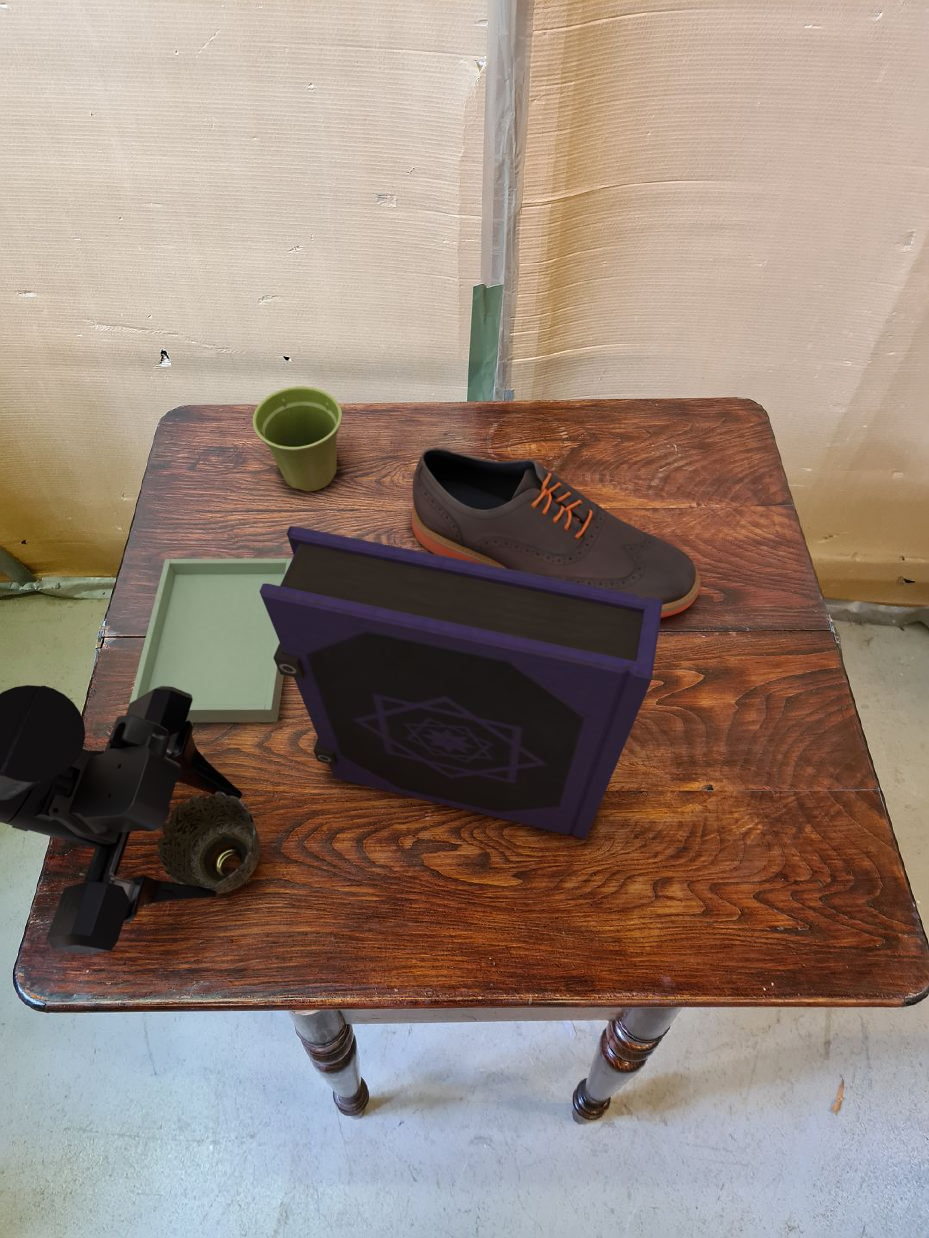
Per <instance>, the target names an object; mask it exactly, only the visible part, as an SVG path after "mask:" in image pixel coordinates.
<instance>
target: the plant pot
mask: <svg viewBox="0 0 929 1238" xmlns="http://www.w3.org/2000/svg"><path fill="white" fill-rule="evenodd" d="M342 420H343V412H342V408H341V406H340V404H339V402H338V401H337V399H336V398H335V397H334V396H333V395H331V394H330V393H328V392H326V391H324V390H323V389H320V388H317V387H314V386H304V385H302V386H291V387H285V388H283V389H282V388H281V389H279V390H276V391H275V392H272V393H271V394H269V395H268V396H266V397H265V398H263V400H261V402H259V404H258V405H257V407H256V409H255V410H254V413H253V416H252V426H253V430H254V432H255V434H256V435H257V437H258V438H259V439H260V440H261V441H262V442H263V443H264V444H265V445H266V446H267V447H268V448H269V450H270V452H271V454H272V456H273V458H274V461H275V463H276V464H277V467H278V468H279V471H280V473H281V475H282V477H283V479H284V481H285V483H286V484H287V485H288V486H289V487H290V488H292V489H297V490H301V491H305V492H314V491H319V490H321V489H323V488H326V487H327V486H328V485H330V484H331V483H332V481H333V479H334V478H335V475H337V470H338V469H337V464H338V462H337V461H338V459H337V436H338V432H339V429H340V427H341V425H342Z"/></svg>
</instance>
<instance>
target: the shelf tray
mask: <svg viewBox="0 0 929 1238" xmlns="http://www.w3.org/2000/svg"><path fill="white" fill-rule="evenodd" d="M292 559H293V557H288V558H285V557H284V558H278V557H277V558H276V557H275V558H274V557H273V558H262V557H261V558H165V559H164V562H163V566H162V570H161V575H160V578H159V583H158V586H157V590H156V593H155V599H154V602H153V607H152V610H151V614H150V618H149V622H148V626H147V631H146V634H145V639H144V642H143V647H142V651H141V654H140V659H139V663H138V667H137V671H136V676H135V679H134V684H133V686H132V691H131V695H130V699H129V703H128V705H129V704H130V703H131V702H133V701H135V700H136V699H138V698H140V697H141V696H143V695H145V694H146V693H148V692H150V691H152V690H153V689H155V688H158V687H160V686H170V687H174V688H177V689H179V690H182V691H184V692H186V693H189V694H191V695H192V698H193V700H192V704H191V707H190V710H189V713H188V716H187V720H186V721H188V720H189V721H191V722H192V723H278V721H279V714H280V706H281V699H282V691H283V686H284V685H283V684H284V677H285V675H281V674H280V672H279V670H278V667H277V665H276V663H275V660H274V658H273V657H274V654H275V652H276V650H277V648H278V645H279V643H280V642H279V639H278V637H277V634H276V632H275V629H274V627H273V624H272V622H271V619H270V617H269V614H268V612H267V609H266V607H265V604H264V602H263V599H262V597H261V595H260V592H259V591H260V589H261V587H262V585H263V584H267V583H268V584H272V585H277V586H280V585H281V583H282V580H283V578H284V576H285V574H286V572H287V570H288V567H289V565H290V563H291V561H292Z"/></svg>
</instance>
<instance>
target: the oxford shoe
mask: <svg viewBox="0 0 929 1238" xmlns="http://www.w3.org/2000/svg"><path fill="white" fill-rule="evenodd" d="M412 501H413V504H412V508H411V528H412V532H413V534H414V536H415V538H416V540H417V541H418V542H419V543H420V545H422V546H423V548H425V549H426V550H428V552H430V553H431V554H436V555H441V556H446V557H451V558H456V559H461V560H466V561H471V562H476V563H481V564H486V565H491V566H496V567H501V568H506V569H511V570H516V571H521V572H526V573H531V574H536V575H541V576H546V577H551V578H556V579H561V580H566V581H571V582H576V583H581V584H586V585H591V586H596V587H601V588H606V589H611V590H616V591H621V592H626V593H631V594H635V595H636V596H638V597H639V598H640V599H642V598H645V597H651V598H656V599H661V600H663V604H662V611H661V618H660V619H662V618H667V617H670V616H673V615H674V616H675V615H677V614H679V613H681V612H683V611H685V610H686V609H688V608H689V607H690V606H691V605H692V604H693V603H694V602H695V600H696V599H697V597H698V595H699V593H700V589H701V585H702V581H701V576H700V572H699V570H698V569H697V567H696V566H695V564H694V561H693V560H692V558H691V557H690V556H689V555H688V554H687V553H685V552H684V551H682V549H680V548H678V547H676V546H675V545H674V544H671V543H669V542H667V541H665V540H664V539H661V538H659V537H657V536H655V535H652V534H650V533H648V532H645V531H642V530H641V529H639V528H637V527H635V526H634V525H632V524H630V523H627V522H626V521H624V520H623V519H620V518H618V517H616V516H615V515H614V514H612V513H610V512H608V511H607V510H606V509H604V508H603V507H602V506H600V505H599V504H598V503H596V502H594V501H593V500H591V499H590V498H588V497H586V496H585V495H583V494H582V493H581V492H579V491H578V490H577V489H575V488H574V487H573V486H571V485H570V484H568V483H567V482H566V481H564V480H563V479H561V478H560V477H558V476H557V475H556V474H554V473H553V472H552V471H550V470H548V469H547V468H546V467H544V466H543V465H541V464H540V463H539V462H537V461H535V460H534V459H529V458H527V459H520V460H519V459H518V460H509V461H506V460H505V461H501V460H500V461H497V460H492V459H484V458H480V457H475V456H473V455H472V456H471V455H468V454H467V455H466V454H463V453H460V452H457V451H456V452H455V451H451V450H448V449H444V448H439V447H431V448H427V449H425V450H423V451H422V453H421V455H420V457H419V459H418V461H417V463H416V467H415V470H414V473H413V478H412Z"/></svg>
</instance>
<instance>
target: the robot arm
mask: <svg viewBox="0 0 929 1238" xmlns="http://www.w3.org/2000/svg"><path fill="white" fill-rule="evenodd" d="M192 700H193V698H192V695H191V694H189V693H186V692H184V691H182V690H179V689H177V688H174V687H170V686H160V687H158V688H155V689H153V690H152V691H150V692H148V693H146V694H145V695H143V696H141V697H140V698H138V699H136V700H135V701H133V702H131V703H130V702H129V703H130V704H129V703H128V707H127V710H126V712H125V715H119V716H117V717H116V719H115V721H114V725H113V727H112V730H111V732H110V735H109V738H108V741H107V743H106V746H105V748H104V750H96V749H95V750H93V749H92V750H91V749H85V748H84V745H85V739H86V729H85V728H86V727H85V722H84V719H83V716H82V713H81V711H80V710H79V709H78V706H76V704H75V703H74V702H73V700H72V699H70V698H69V696H67V695H66V694H65V693H63V692H60V691H59V690H57V689H55V688H53V687H50V686H47V685H31V684H26V685H19V686H14V687H11V688H8V689H5V690H3V691H2V692H0V823H1V824H5V825H7V826H11V828H12V829H16V830H20V831H23V832H29V831H30V832H34V833H37V834H41V835H44V836H49V837H51V838H56V839H57V840H58V839H59V840H62V841H66V842H69V843H70V845H74V846H78V847H81V848H86V847H88V848H91V849H94V850H93V853H92V855H91V859H90V862H89V865H88V867H87V871H86V874H85V877H84V878H83V882H79V883H76V884H72V885H67V886H65V887H63V889H62V892H61V895H60V899H59V901H58V904H57V908H56V910H55V912H54V915H53V918H52V920H51V923H50V926H49V929H48V932H47V935H46V937H45V938H46V940H47V942H48V943H49V945H50V947H51V948H52V949H53V950H56V951H59V952H64V953H69V954H73V955H79V956H85V955H93V954H100V953H111V952H112V951H113V950H114V948H115V946H116V945H117V943H118V941H119V938H120V935H121V932H122V928H123V925H124V924H126V923H131V922H133V920H135V918H136V917H137V915H138V913H139V910H140V907H142V906H147V905H152V904H153V905H154V904H162V903H163V904H164V903H173V902H182V901H183V902H184V901H195V900H196V901H197V900H206V899H213V898H217V896H218V894H217V892H216V891H214V890H211V889H208V888H204V887H200V886H193V885H187V884H180V883H176V882H174V881H173V882H172V881H166V880H158V879H155V878H152V877H150V876H148V875H145V874H143V875H137V876H135V877H131V878H126V879H125V878H123V877H121V876H117V875H118V873H119V870H120V866H121V863H122V860H123V857H124V854H125V851H126V848H127V844H128V841H129V839H130V835H131V833H132V832H148V833H150V832H156V831H158V830H160V829H161V827H162V826H163V825H164V824H165V823H167V820H168V818H169V816H170V814H171V813H170V812H171V808H170V804H171V801H172V797H173V795H174V791H175V788H176V785H177V783H180V784H183V785H185V786H187V787H188V786H189V787H191V788H194V789H196V790H199V791H202V792H205V793H207V794H210V795H213V796H215V793H216V792H222V793H224V794H226V795H227V796H235V797H237V798H238V799H242V798H243V791H241V790H240V789H238V788H237V786H235V785H234V784H233V783H232V782H231V781H229V779H227V778H226V777H225V776H224V775H223V774H222V773H221V772H220V771H219V770H217V769H216V768H215V767H214V766H213V765H212V764H211V763H210V762H209V761H208V760H207V759H206V758H205V757H204V756H203V754H202V753H201V752H200V751H199V749H198V748H197V745H196V743H195V739H194V736H193V731H194V728H195V727H194V726H195V725H194V723H193V722H191V721H189V720H188V721H186V720H187V716H188V713H189V710H190V707H191V704H192ZM224 794H223V795H224Z"/></svg>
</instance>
